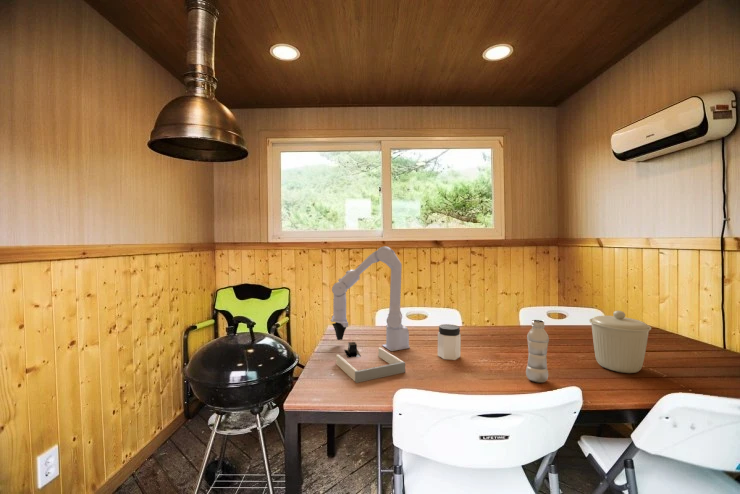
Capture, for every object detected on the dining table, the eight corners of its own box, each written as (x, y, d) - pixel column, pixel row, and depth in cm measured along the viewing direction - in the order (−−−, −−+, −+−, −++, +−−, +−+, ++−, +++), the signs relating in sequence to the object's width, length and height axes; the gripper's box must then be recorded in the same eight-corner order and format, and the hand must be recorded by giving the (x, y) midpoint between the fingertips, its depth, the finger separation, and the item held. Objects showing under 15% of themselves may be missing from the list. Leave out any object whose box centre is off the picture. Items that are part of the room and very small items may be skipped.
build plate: (363, 359, 130) (363, 347, 130) (345, 360, 129) (345, 349, 128) (357, 348, 142) (358, 338, 142) (341, 350, 141) (341, 339, 141)
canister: (634, 382, 109) (635, 318, 108) (578, 363, 125) (579, 308, 124) (660, 372, 117) (661, 313, 117) (604, 356, 133) (605, 304, 133)
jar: (464, 358, 129) (464, 328, 129) (446, 361, 127) (446, 330, 126) (451, 351, 138) (451, 323, 137) (434, 353, 135) (434, 324, 135)
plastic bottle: (521, 377, 112) (522, 318, 112) (540, 376, 113) (541, 318, 113) (532, 385, 106) (533, 323, 106) (552, 384, 107) (553, 323, 106)
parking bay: (380, 356, 132) (380, 347, 132) (405, 372, 116) (405, 362, 116) (336, 364, 124) (336, 354, 123) (356, 382, 107) (356, 372, 107)
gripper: (325, 306, 150) (325, 336, 150) (337, 313, 137) (337, 345, 138) (340, 305, 153) (340, 334, 154) (352, 311, 140) (352, 343, 141)
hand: (339, 339), depth 146 cm, fingers closed
